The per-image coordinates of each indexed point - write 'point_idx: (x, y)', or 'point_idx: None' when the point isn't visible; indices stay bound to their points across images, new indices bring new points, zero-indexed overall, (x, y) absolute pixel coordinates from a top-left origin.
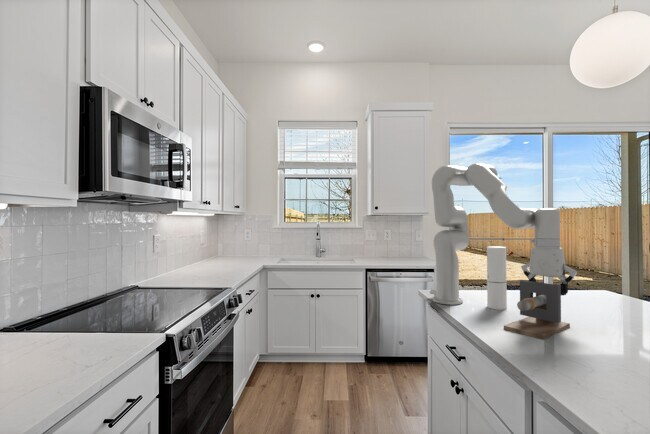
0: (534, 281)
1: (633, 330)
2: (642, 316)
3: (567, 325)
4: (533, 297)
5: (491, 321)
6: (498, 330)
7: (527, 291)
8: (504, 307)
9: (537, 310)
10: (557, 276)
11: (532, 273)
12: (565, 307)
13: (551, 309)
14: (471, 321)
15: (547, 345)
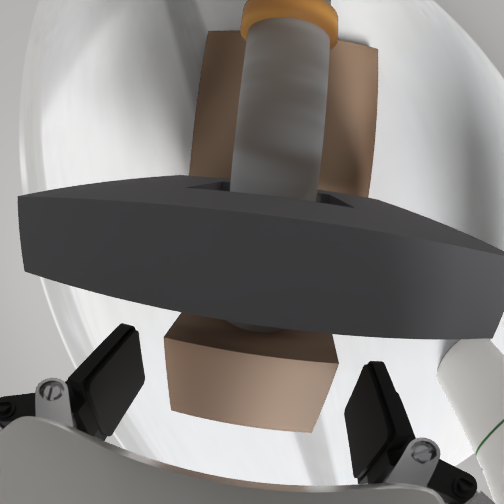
0: (364, 449)
1: None
2: None
3: None
4: (285, 99)
5: (451, 137)
6: (377, 30)
7: (386, 214)
8: (446, 362)
9: None
10: (34, 417)
11: (408, 490)
12: (277, 474)
13: (188, 179)
14: (485, 91)
15: (185, 3)
